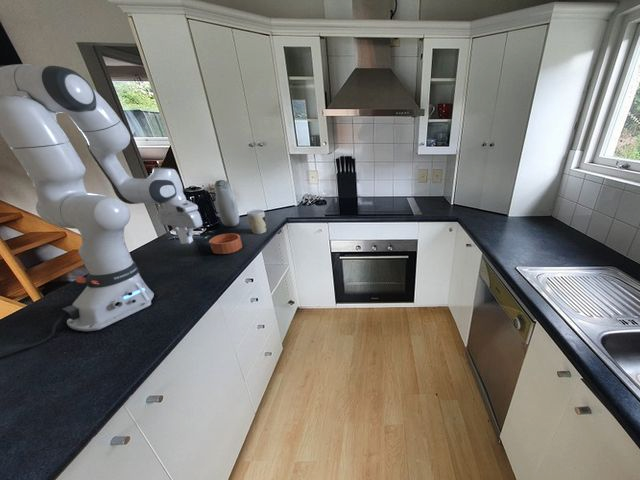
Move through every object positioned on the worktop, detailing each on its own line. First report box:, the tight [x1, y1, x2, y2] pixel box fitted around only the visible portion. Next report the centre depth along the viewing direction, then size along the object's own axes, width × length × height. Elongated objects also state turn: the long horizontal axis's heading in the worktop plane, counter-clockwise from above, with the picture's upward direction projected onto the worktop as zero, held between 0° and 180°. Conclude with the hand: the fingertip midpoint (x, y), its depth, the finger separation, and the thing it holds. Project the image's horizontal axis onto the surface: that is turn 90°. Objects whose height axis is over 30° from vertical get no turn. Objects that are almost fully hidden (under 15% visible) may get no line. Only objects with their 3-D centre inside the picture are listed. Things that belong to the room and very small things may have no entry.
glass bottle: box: [214, 179, 240, 228], centre depth 162 cm, size 10×10×28 cm
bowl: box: [208, 232, 243, 255], centre depth 137 cm, size 14×14×6 cm
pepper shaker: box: [177, 227, 194, 245], centre depth 124 cm, size 4×4×10 cm
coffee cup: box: [246, 209, 267, 235], centre depth 158 cm, size 9×9×12 cm
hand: (185, 235), depth 124 cm, fingers closed on pepper shaker, 5 cm apart
